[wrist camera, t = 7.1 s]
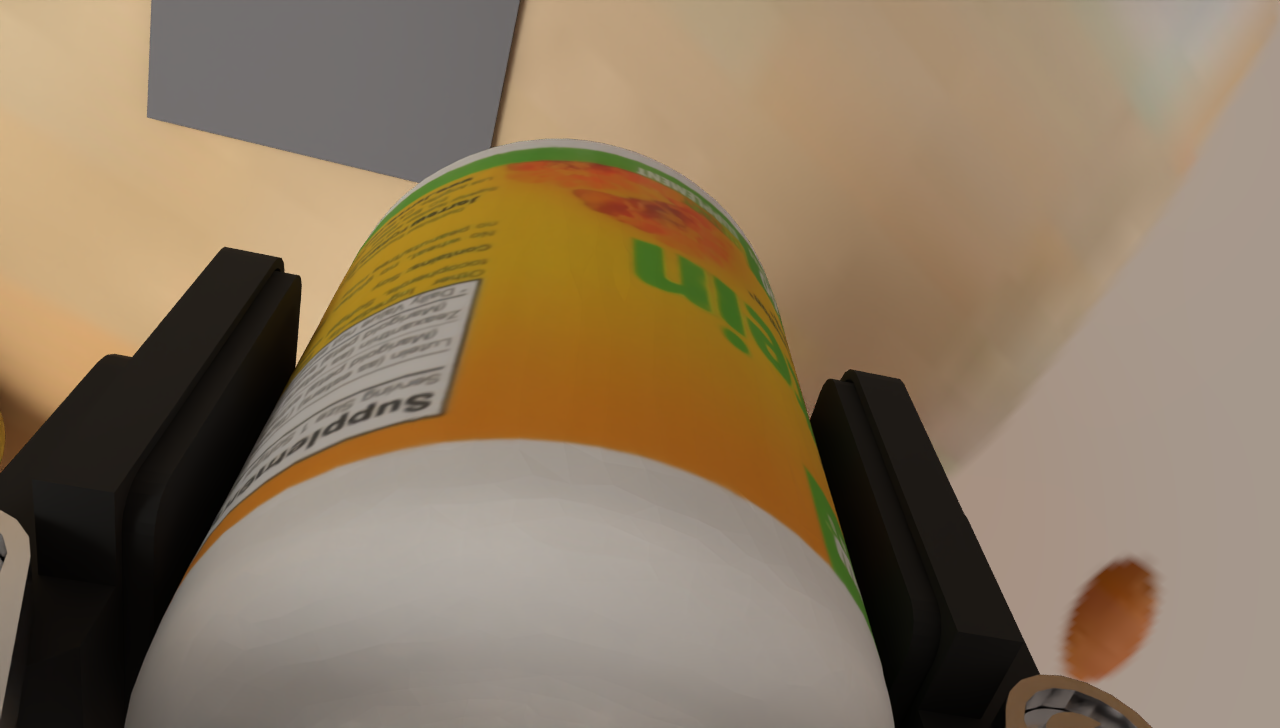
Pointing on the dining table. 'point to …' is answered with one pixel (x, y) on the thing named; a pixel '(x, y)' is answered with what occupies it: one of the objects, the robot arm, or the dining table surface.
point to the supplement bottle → (531, 484)
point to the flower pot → (2, 437)
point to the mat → (336, 76)
